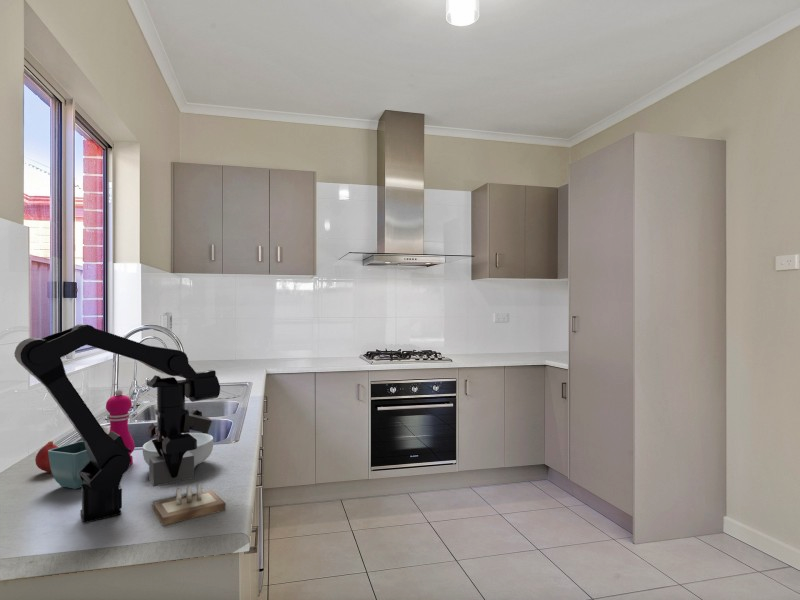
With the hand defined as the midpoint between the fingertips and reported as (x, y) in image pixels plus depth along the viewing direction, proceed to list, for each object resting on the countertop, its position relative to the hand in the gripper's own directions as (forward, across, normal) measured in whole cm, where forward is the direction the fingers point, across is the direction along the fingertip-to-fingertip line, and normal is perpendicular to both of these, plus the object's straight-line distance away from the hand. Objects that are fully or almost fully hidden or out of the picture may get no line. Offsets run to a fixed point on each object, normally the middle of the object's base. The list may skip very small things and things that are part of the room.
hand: (171, 474), depth 114 cm
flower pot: (+5, +20, +16) cm, 26 cm away
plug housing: (+1, 0, 0) cm, 1 cm away
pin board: (+4, -11, -1) cm, 12 cm away
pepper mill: (+5, +30, +6) cm, 31 cm away
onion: (+5, +34, +21) cm, 40 cm away
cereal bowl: (+5, +18, -6) cm, 20 cm away
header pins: (+3, -11, -1) cm, 11 cm away
